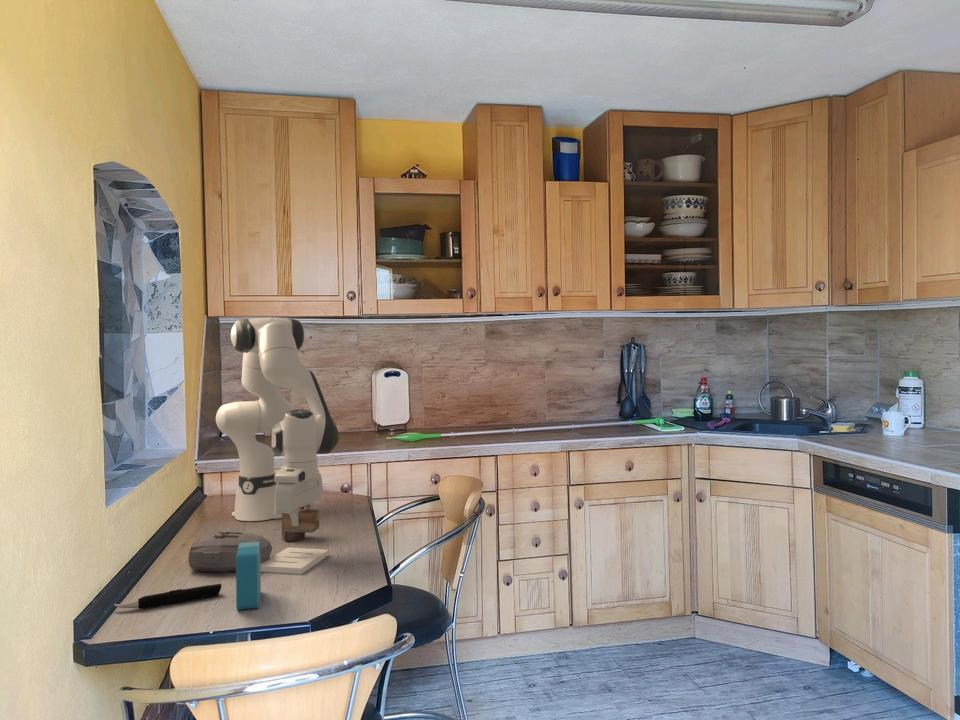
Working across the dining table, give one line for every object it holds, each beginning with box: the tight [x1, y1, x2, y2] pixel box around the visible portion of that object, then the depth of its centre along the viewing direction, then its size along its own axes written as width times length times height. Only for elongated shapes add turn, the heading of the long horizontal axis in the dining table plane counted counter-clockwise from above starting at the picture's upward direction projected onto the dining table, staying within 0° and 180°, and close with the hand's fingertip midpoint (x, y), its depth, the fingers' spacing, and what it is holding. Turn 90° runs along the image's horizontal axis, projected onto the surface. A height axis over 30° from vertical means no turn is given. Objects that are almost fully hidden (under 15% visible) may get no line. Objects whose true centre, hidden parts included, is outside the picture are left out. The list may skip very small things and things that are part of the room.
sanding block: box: [284, 509, 320, 534], centre depth 181 cm, size 4×8×5 cm, turn 78°
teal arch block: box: [235, 542, 262, 611], centre depth 150 cm, size 12×4×12 cm, turn 16°
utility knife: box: [113, 583, 222, 610], centre depth 150 cm, size 22×4×3 cm, turn 120°
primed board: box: [260, 547, 330, 575], centre depth 177 cm, size 16×12×2 cm
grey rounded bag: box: [188, 531, 273, 573], centre depth 176 cm, size 15×8×20 cm
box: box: [281, 507, 306, 542], centre depth 200 cm, size 6×4×12 cm
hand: (301, 522), depth 181 cm, fingers closed on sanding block, 4 cm apart
